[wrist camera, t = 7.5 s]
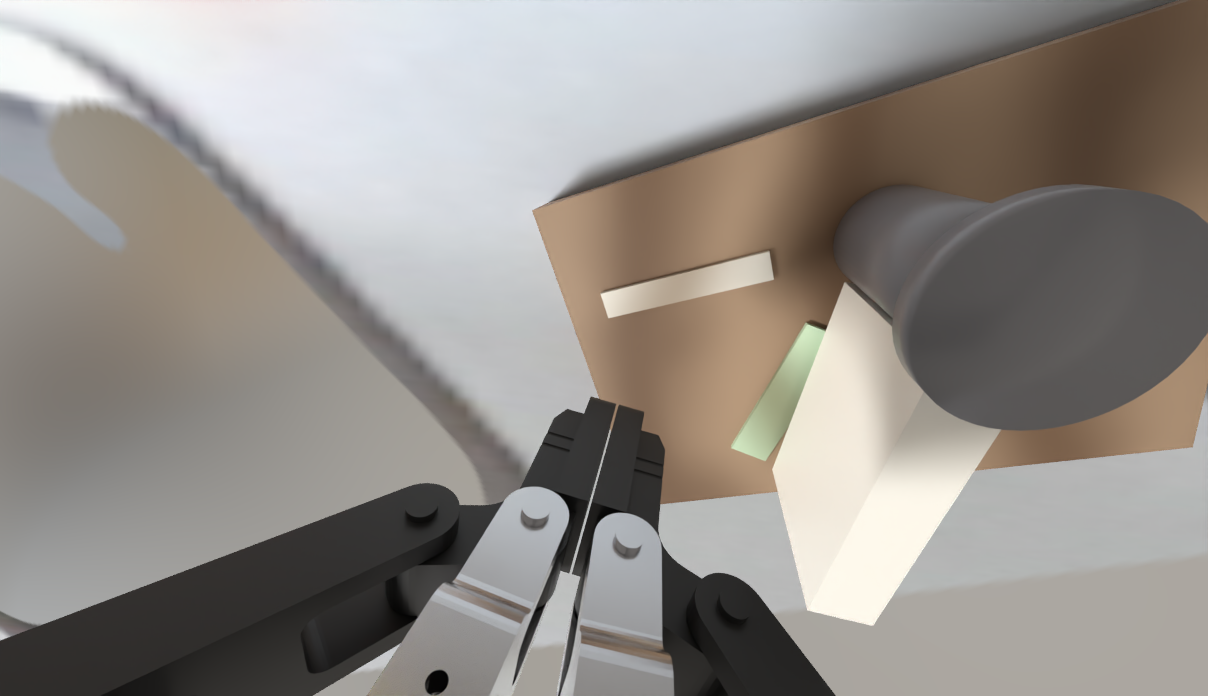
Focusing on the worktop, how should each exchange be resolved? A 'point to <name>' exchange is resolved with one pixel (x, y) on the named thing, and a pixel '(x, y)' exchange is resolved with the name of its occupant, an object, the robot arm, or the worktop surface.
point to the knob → (971, 358)
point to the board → (811, 217)
